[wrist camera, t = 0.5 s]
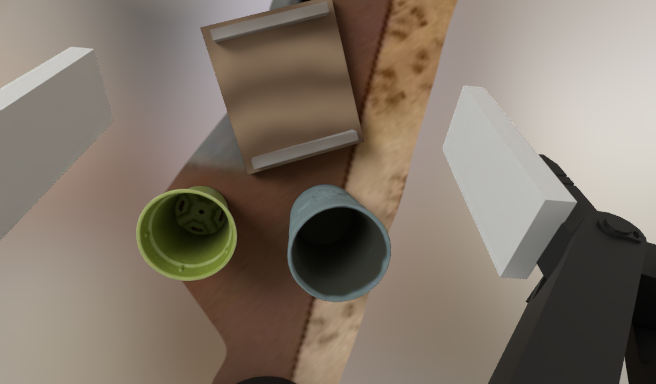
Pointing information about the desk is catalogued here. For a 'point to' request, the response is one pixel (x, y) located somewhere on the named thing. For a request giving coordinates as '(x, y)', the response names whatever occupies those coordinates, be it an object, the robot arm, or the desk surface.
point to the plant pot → (187, 233)
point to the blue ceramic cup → (336, 245)
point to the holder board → (285, 83)
